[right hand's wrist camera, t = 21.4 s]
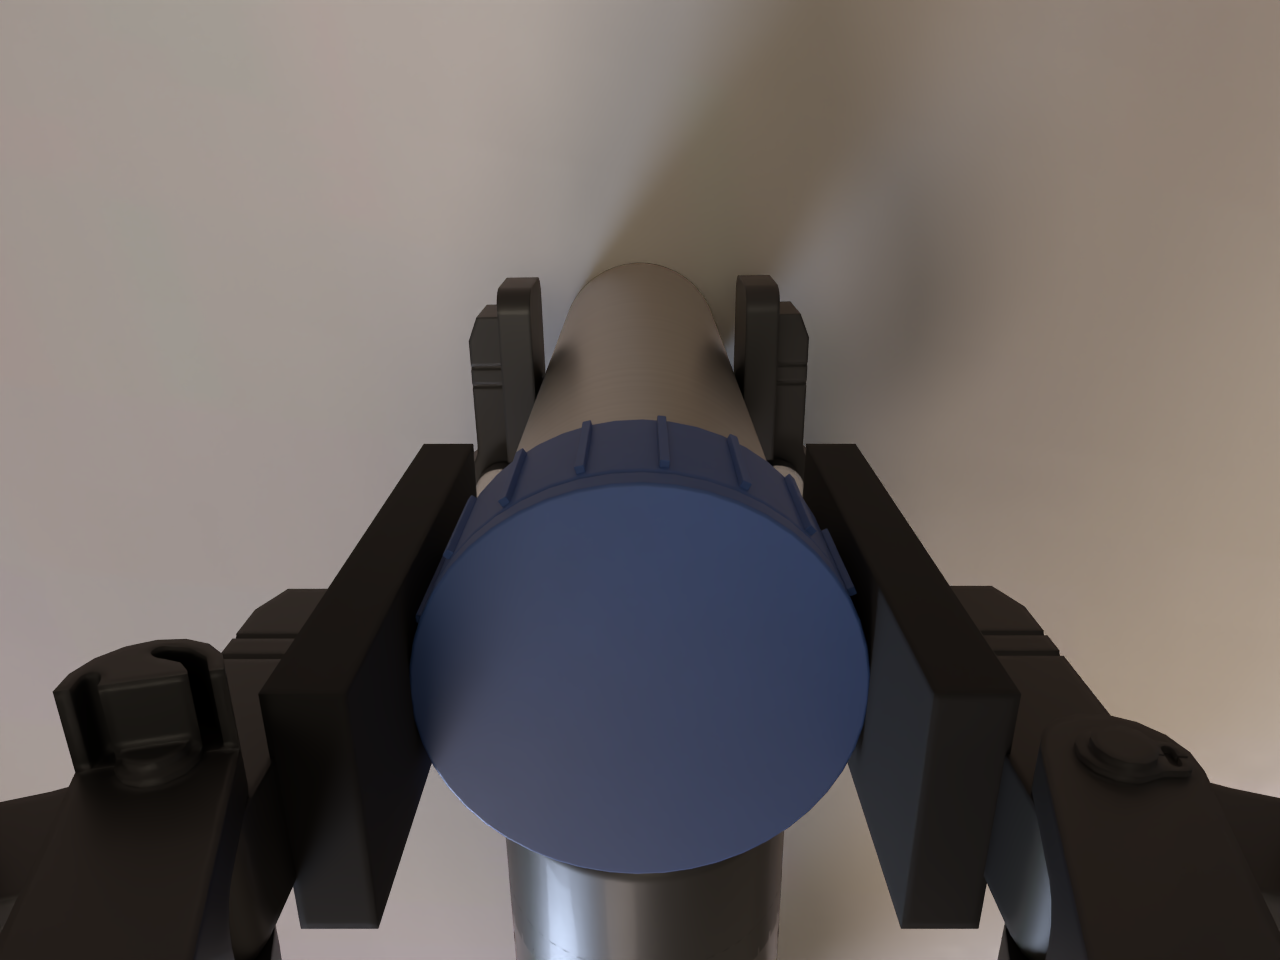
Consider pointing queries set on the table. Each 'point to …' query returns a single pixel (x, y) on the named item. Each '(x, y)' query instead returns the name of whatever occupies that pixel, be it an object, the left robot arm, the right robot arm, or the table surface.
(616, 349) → the silver metal canister
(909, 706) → the right robot arm
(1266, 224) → the table surface
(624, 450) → the lid
